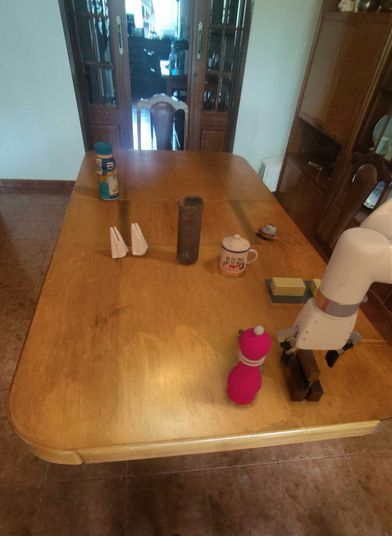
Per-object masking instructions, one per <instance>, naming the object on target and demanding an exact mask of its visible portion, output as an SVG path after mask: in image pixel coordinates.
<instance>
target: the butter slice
mask: <svg viewBox="0 0 392 536" xmlns="http://www.w3.org/2000/svg"><path fill="white" fill-rule="evenodd" d="M321 280H322V278H312V279H311V281H312V282H311V284H310V287H309V288H310V290H311V292H312V294H313V296H315V295H316V292H317V290H318V287H319V285H320V282H321Z"/></svg>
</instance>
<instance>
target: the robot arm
mask: <svg viewBox="0 0 392 536" xmlns="http://www.w3.org/2000/svg"><path fill="white" fill-rule="evenodd" d="M324 270H325V271H324V273H323V275H322V278H321V282H320V285H319V287H318V290H317V292H316V295H315V297H314V298H310V299H309V300H308V301H307V302H306V304H303V307H302V308H301V309H300V311H299V313H298V314H297V317H296V318H295V321H294V323H293V325H292V327H289V328H286V329H282V330H279V331H277V332H276V334H275V335H276V338H277V341H278V343H279V346H280V348H281V349H282V352H281V355H280V359H281V360H282V361H283V362H284V365H285V367H289V365H290V363H291V360H292V358H293V352H294V353H295V352H297V350H298V349H308V350H312V351H313V350H314V351H327V352H326V353H325V356H324V360H325V362H326V364H327V367H328V368H329V369H333V367H334V366H335V364H336V363H337V361H338V359H339V358H340V356H343V355H345V352H347V351H349V350H351V349H353V348H354V346H355V345H357V344H358V343H360V342H361V341H362V340H363V337H362V335H361V334H360V332H357V331H355V330H354V328H355V325H356V322H357V319H358V314H359V307H360V305H361V304H362V303H367V302H368V300H369V297H368V295H367V292H368V291H369V290H370V287H371V285H372V284H373V283H382V284H388V285H389V284H390V285H392V196H391V197H390V198H388V199H386V201H385V202H383V203H382V204H381V205H379V206H378V207H377V208H376V209H375V210H373V211H372V212H371V213H370V214H369V215H368V216H367V217H366V218H365V219H364V220H363V221H362V222H361V223H360V225H359V226H358V227H351V228H348V229H346V230H344V231H343V232H342V233H341V234H340V235H339V237H338V239H337V241H336V244H335V246H334V249H333V251H332V253H331V256H330V258H329V261H328V263H327V266H326V268H325V269H324Z"/></svg>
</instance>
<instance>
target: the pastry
mask: <svg viewBox="0 0 392 536" xmlns="http://www.w3.org/2000/svg"><path fill="white" fill-rule="evenodd" d="M257 235H258V236H259V237H260V238H261V239H263V240H266V241H275V240H277V239H278V238H279V234H278V229H277V227H276V225H275V224H274V223H273V222H271V223H268V224H267V225H264V226H260V227H259V229H258V230H257Z"/></svg>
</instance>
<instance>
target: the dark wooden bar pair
mask: <svg viewBox="0 0 392 536" xmlns="http://www.w3.org/2000/svg"><path fill="white" fill-rule="evenodd" d="M295 356H296V353H295V352H293V358H292V360H291V363H290V365H289V367H285V365H284V362H283V361H282V360H281V358H280V359H279V363H280V366H281V369H282V374H283V377H284V380H285V383H286V387H287V390H288V394H289V398H290V401H291V402H304V399H305V398H306V401H307V402H312V403H314V402H319V401H320V400H321V398H322V397H323V395H324V388H323V386H322V384H321V381H320V377H319V378H318V380H317V381H313V382H312V384H311V386H310V388H309V390H308V391H307V389H306V386H305V383H304V380H303V377H302V374H301V371H300V368H299V366H298V363H297V360H296V357H295Z"/></svg>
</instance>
